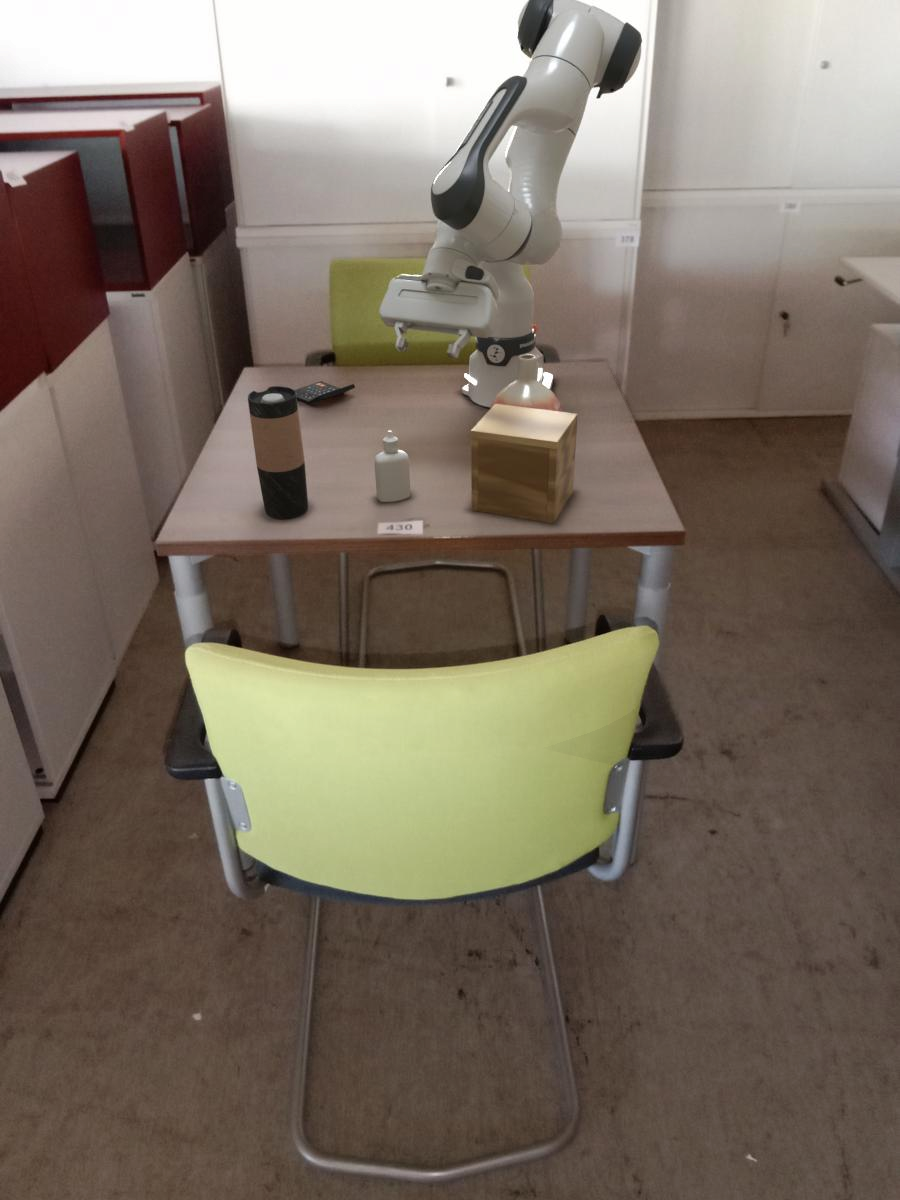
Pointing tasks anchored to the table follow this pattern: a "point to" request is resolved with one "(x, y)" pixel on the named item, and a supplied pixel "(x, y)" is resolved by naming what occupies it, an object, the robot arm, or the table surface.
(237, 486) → the table surface
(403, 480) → the eye dropper bottle
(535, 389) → the vase
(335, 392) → the calculator
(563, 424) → the plywood crate
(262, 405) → the travel mug
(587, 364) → the table surface
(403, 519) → the table surface
